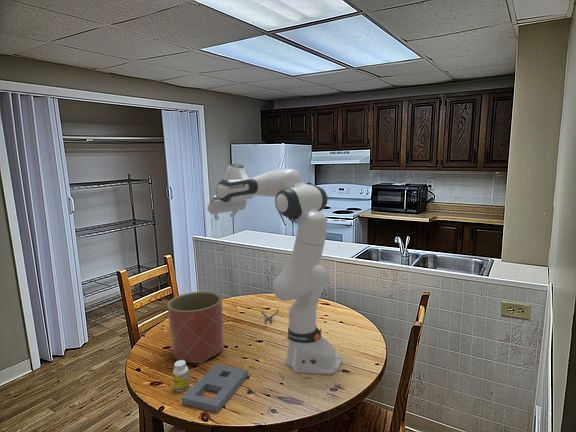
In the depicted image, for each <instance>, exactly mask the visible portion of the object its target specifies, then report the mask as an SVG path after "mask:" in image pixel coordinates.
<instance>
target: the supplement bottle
mask: <svg viewBox="0 0 576 432" xmlns="http://www.w3.org/2000/svg"><path fill="white" fill-rule="evenodd" d="M173 367H174V368H173V371H172V375H173V376H172V377H173V387H174V388H173V389H174V390H175V391H176V392H184V390H185V391H186V390H188V389H189V388H190V376H189V375H190V374H189V367H188V366H187V362H185V361H184V360H176V362H174V366H173Z"/></svg>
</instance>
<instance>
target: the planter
mask: <svg viewBox="0 0 576 432" xmlns="http://www.w3.org/2000/svg"><path fill="white" fill-rule="evenodd" d="M166 306H167V314H168V315H167V316H168V323H169V324H168V325H169V329H170V336H171V344H172V352H173V356H174V358H175V359H177V361H179V360H184V361H185V362H186V363H193V364H194V363H195V364H203V362H204V363H205V362H206V361H207V360H209V359H211V358H213V357H215V356H217V355H218V354H219V353H220V352H221V351H222V349H223V343H224V342H223V341H224V339H223V331H224V329H223V321H224V320H223V297H222V295H220V294H218V293H216V292H212V291H194V292H193V291H191V292H188V293H183V294H180V295H178V296H174V297H173V298H172V299H170V300H169V301H168V302H167V305H166Z"/></svg>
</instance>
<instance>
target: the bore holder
mask: <svg viewBox="0 0 576 432" xmlns="http://www.w3.org/2000/svg"><path fill="white" fill-rule="evenodd" d="M248 374H249V371H248V369H244V368H240V367H234V366H230V365H223V364H218V363H215V364H214V365H213V366H212V367H211V368H210V370H208V371H207V372H206V373H205V374H204V375H203V376H202V377H201V378H200V379H199V380H198V381H197V382H196V383H195V384H194V385H193V386H191V388H190V389H189V390H188V391H187V392H186V393H185V394H184V395H182V396H181V404H182V405H183V404H184V406H187V405H189V406H188V407H191V406H193V407H192V408H195V407H197V408H196V409H199V408H200V409H199V410H203V409H205V410H204V411H207V410H208V411H209V412H212V413H216V412H217V413H216V414H219V412H220V411H221V410H222V408H223V407H224V406H225V405H226V403H227V402H228V401H229V400H230V399H231V397H232V396H233V395H234V394H235V393H236V391H238V389H239V387H240V386H241V385H242V384H243V383H244V381H246V379H247V378H248V376H249V375H248ZM206 391H209V392H214V393H216V394H215V396H214V397H213V398H212V399H211V398H210V397H209V398H208V397H204V396H202V395H203V394H204V393H205V392H206ZM220 409H221V410H220Z"/></svg>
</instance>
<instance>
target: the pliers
mask: <svg viewBox="0 0 576 432" xmlns="http://www.w3.org/2000/svg"><path fill="white" fill-rule="evenodd" d="M260 311H261V312H260V313H261V315H263V316H264V317H265V319H264V322H263V323H264V324H265V325H266V324H267V323H268V321H269V324H270V325H271V324H272V323H273V322H274V321H273V317H274V316H276V315H277V314H278V313H279V308H276V312H274V313H273V314H271V315H270V316H268V315H267V314H265V313H264V312H263V311H264V308H262V309H261V310H260Z"/></svg>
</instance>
